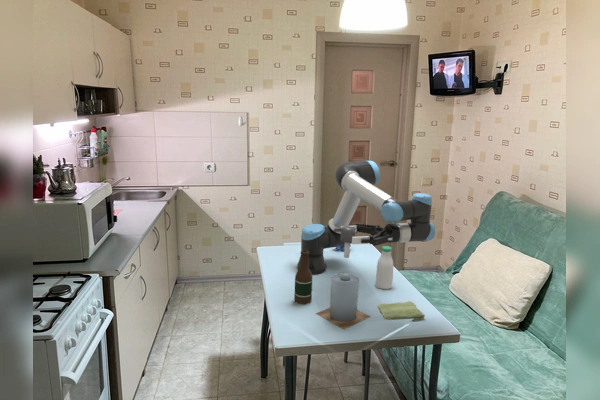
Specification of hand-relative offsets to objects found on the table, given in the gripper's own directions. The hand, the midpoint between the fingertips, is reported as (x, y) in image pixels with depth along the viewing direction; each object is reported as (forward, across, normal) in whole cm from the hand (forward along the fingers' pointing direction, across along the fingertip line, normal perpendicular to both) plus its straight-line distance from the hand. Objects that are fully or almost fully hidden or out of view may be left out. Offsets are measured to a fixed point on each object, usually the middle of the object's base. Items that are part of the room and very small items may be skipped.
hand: (346, 234), depth 165 cm
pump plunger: (0, 0, -9) cm, 9 cm away
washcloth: (-26, 0, -37) cm, 45 cm away
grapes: (-25, +76, -36) cm, 88 cm away
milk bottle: (-30, +26, -36) cm, 54 cm away
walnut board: (-1, 0, -36) cm, 36 cm away
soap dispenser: (-1, 0, -35) cm, 35 cm away
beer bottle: (+12, +16, -36) cm, 41 cm away
